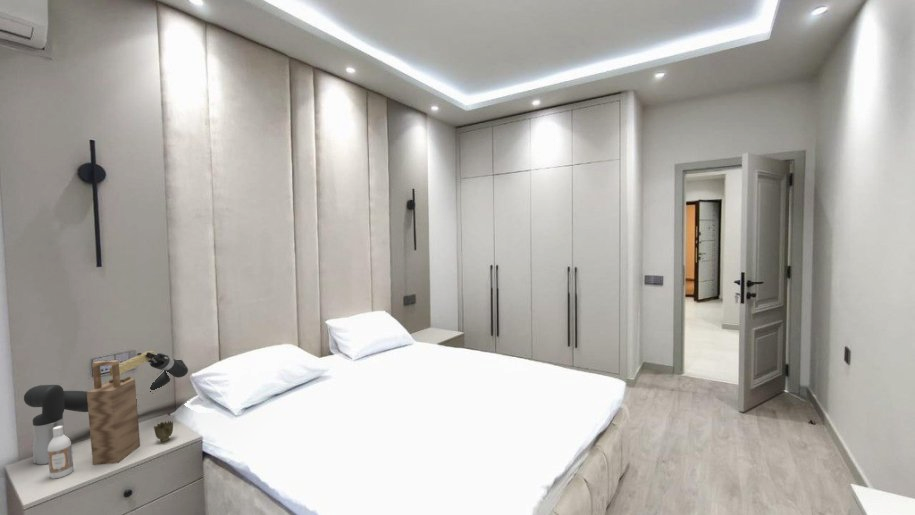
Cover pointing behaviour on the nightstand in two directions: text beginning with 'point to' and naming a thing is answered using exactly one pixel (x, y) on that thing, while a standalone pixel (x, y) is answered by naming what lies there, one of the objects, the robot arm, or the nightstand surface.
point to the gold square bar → (133, 362)
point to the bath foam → (60, 454)
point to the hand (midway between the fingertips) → (142, 354)
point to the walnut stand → (112, 416)
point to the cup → (164, 430)
